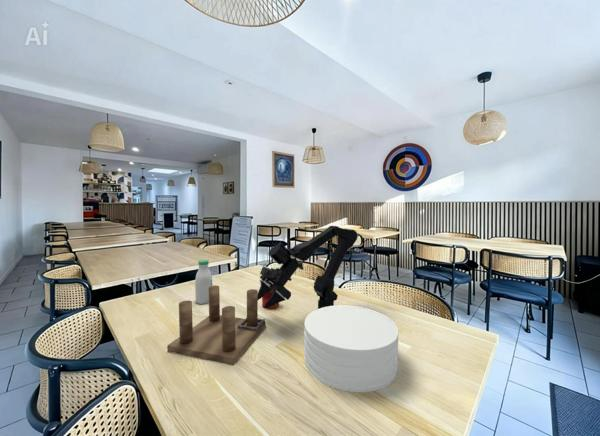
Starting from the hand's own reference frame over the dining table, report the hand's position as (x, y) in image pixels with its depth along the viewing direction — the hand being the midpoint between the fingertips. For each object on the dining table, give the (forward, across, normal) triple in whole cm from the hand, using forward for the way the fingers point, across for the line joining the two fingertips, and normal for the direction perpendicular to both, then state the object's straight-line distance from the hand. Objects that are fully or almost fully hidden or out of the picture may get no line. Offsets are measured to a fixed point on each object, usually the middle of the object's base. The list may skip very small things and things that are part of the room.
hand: (260, 303), depth 98 cm
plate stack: (-5, +31, +19) cm, 37 cm away
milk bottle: (+17, -38, -4) cm, 42 cm away
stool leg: (+8, 0, +3) cm, 8 cm away
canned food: (-1, -18, +15) cm, 23 cm away
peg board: (+17, 0, -4) cm, 18 cm away
